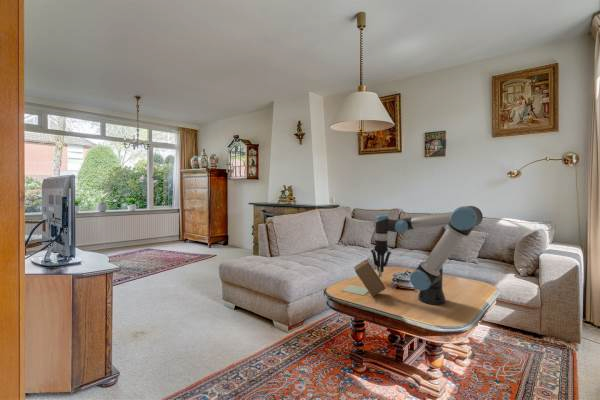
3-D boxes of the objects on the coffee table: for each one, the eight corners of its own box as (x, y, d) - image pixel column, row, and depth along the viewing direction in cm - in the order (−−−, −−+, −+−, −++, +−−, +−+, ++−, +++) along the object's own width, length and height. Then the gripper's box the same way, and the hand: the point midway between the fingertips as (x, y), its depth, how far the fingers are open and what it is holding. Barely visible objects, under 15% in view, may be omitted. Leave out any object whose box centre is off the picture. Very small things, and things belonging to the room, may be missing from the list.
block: (383, 284, 204) (366, 258, 205) (386, 289, 194) (368, 262, 195) (370, 292, 205) (353, 266, 206) (372, 297, 195) (354, 270, 196)
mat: (372, 289, 210) (372, 289, 210) (363, 295, 199) (363, 295, 199) (350, 285, 220) (350, 284, 220) (341, 290, 208) (341, 290, 208)
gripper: (393, 240, 197) (392, 277, 198) (374, 237, 204) (373, 273, 205) (389, 241, 191) (387, 280, 192) (369, 239, 198) (368, 276, 199)
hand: (380, 276), depth 199 cm, fingers closed
